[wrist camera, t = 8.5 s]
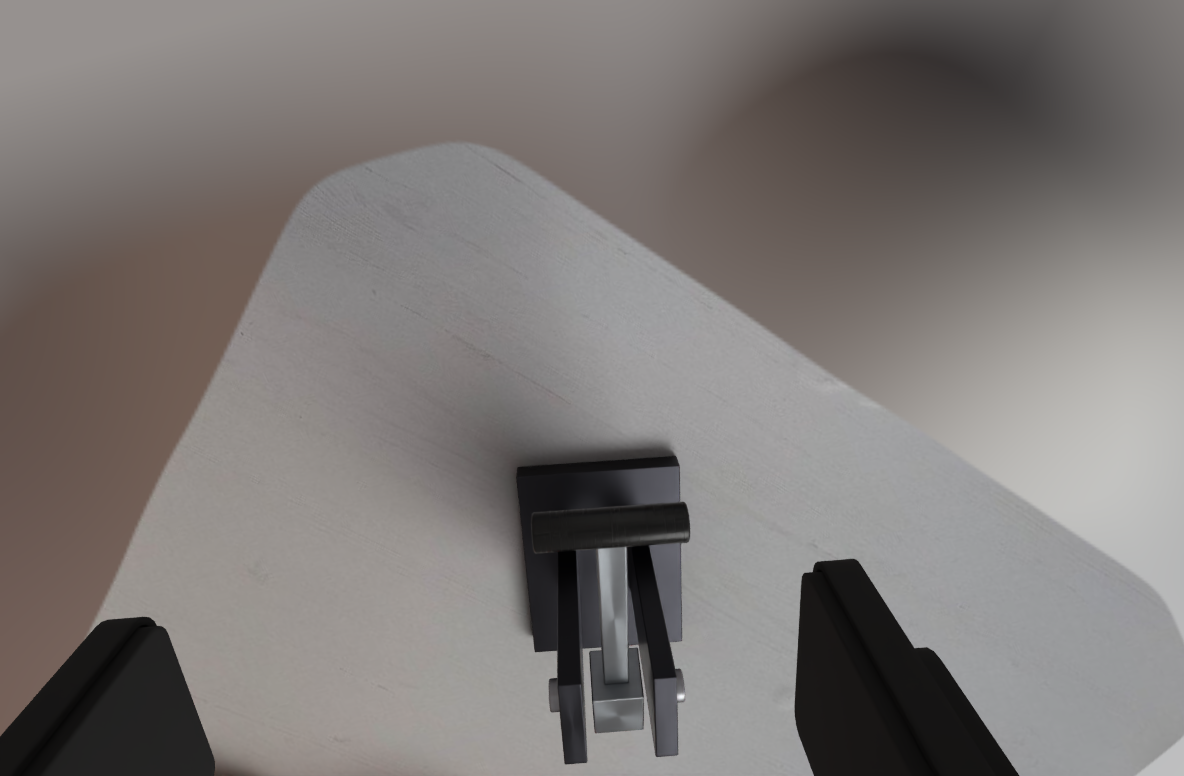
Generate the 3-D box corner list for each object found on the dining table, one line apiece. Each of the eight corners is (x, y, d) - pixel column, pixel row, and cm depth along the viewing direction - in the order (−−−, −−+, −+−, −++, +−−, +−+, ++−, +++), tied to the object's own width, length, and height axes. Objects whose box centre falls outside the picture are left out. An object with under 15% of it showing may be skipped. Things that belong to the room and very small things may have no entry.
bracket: (517, 466, 40) (499, 614, 28) (676, 455, 40) (725, 597, 28) (535, 639, 45) (526, 830, 33) (679, 628, 45) (722, 814, 33)
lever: (531, 494, 26) (530, 546, 24) (682, 483, 26) (693, 534, 24) (557, 686, 34) (558, 736, 32) (672, 677, 34) (680, 727, 32)
